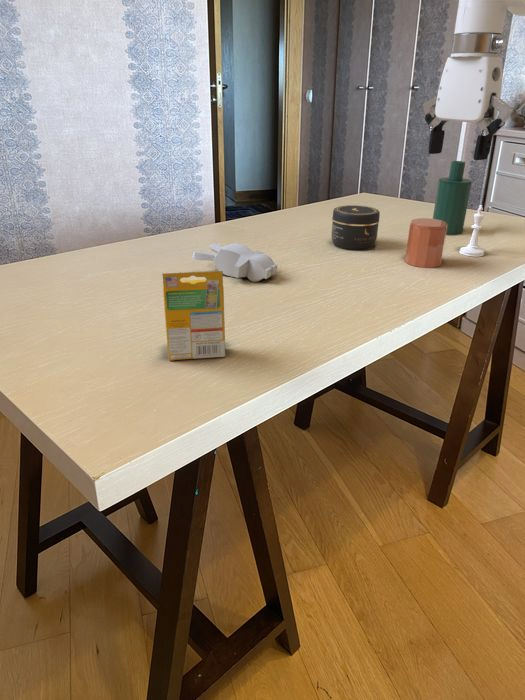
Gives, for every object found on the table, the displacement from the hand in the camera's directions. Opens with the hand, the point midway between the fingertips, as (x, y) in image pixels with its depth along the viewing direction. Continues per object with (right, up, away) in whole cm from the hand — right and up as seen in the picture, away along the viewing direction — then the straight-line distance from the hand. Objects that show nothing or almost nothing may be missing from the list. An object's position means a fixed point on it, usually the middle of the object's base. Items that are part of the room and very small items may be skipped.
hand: (456, 156), depth 96 cm
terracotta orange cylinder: (-3, -18, +10) cm, 20 cm away
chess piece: (+9, -15, +16) cm, 23 cm away
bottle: (+9, -6, +32) cm, 34 cm away
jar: (-15, -12, +20) cm, 28 cm away
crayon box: (-44, -36, -27) cm, 63 cm away
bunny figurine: (-40, -21, +2) cm, 45 cm away
